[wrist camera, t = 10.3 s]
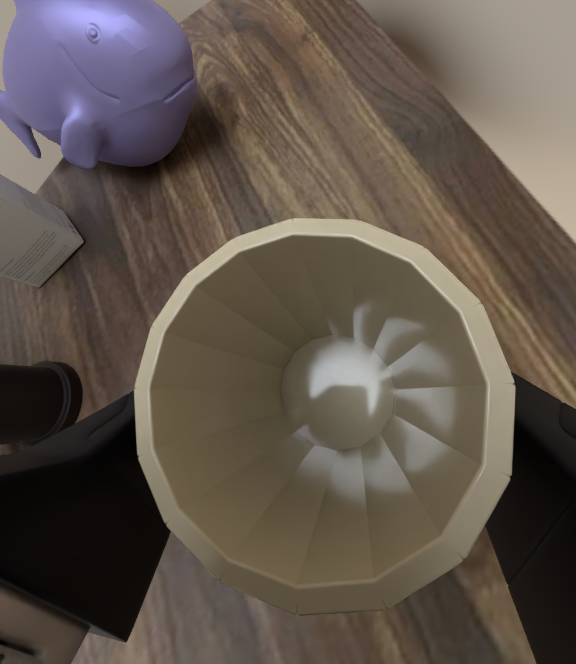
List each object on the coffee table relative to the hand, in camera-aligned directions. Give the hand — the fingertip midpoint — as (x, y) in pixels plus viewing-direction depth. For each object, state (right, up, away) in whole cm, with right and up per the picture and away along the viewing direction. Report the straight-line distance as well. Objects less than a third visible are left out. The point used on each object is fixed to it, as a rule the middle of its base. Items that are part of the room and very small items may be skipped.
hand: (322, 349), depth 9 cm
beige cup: (+1, -3, +6) cm, 7 cm away
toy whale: (-20, +20, +23) cm, 37 cm away
